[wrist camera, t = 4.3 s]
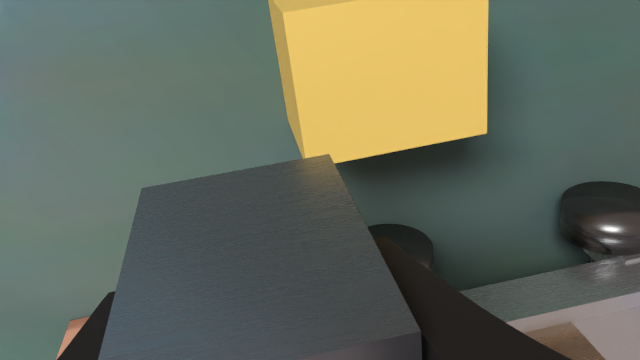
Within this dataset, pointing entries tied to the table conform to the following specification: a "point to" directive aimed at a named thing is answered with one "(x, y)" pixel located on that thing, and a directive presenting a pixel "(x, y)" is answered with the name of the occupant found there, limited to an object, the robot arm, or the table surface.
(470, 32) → the chock
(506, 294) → the trolley
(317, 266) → the grey matte cube
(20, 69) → the table surface
